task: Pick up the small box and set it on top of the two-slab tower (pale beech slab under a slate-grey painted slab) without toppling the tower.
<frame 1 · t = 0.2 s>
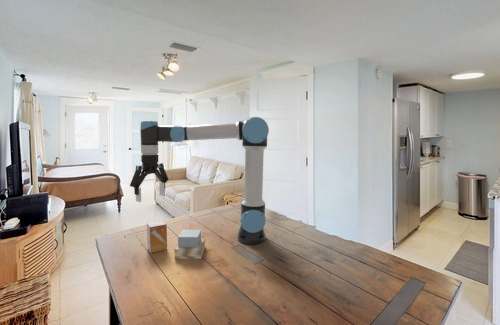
hand: (150, 198, 122), 26 cm above the table, fingers open, 13 cm apart
tower top: (190, 243, 123), point 5 cm above the table
small box: (157, 249, 126), on the table
tower base: (190, 253, 123), on the table
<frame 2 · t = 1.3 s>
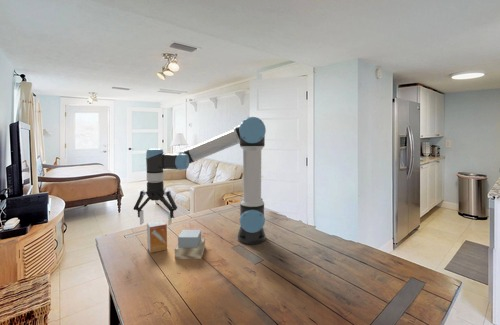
hand: (155, 223, 125), 13 cm above the table, fingers open, 13 cm apart
tower top: (190, 243, 122), point 5 cm above the table, touching tower base
tower base: (190, 253, 123), on the table, touching tower top
everything else where it was.
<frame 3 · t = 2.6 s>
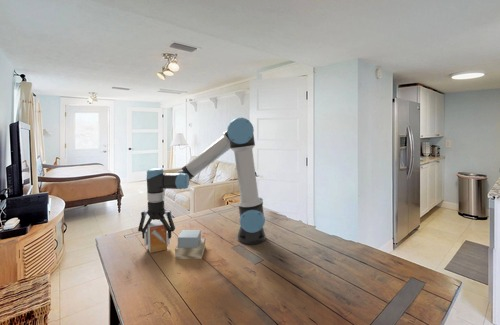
hand: (157, 244, 126), 2 cm above the table, fingers closed on small box, 10 cm apart
small box: (157, 249, 126), on the table, touching gripper
everything else where it was.
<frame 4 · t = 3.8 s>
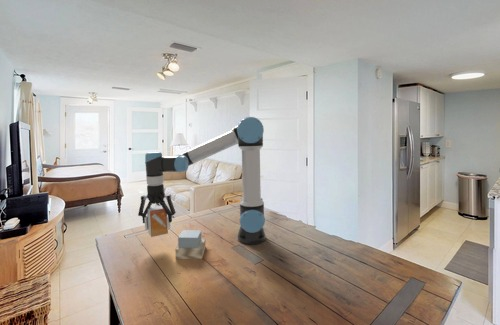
hand: (158, 229, 125), 10 cm above the table, fingers closed on small box, 10 cm apart
small box: (158, 233, 126), point 8 cm above the table, touching gripper
everything else where it was.
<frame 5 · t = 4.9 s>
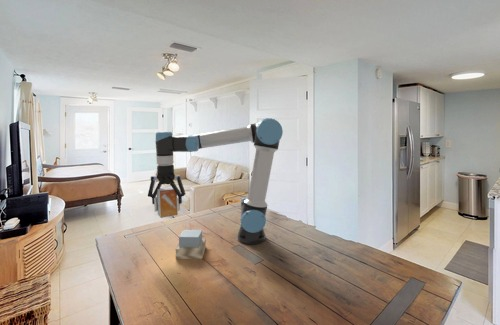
hand: (167, 210, 123), 20 cm above the table, fingers closed on small box, 10 cm apart
tower top: (191, 243, 123), point 5 cm above the table
small box: (167, 215, 123), point 18 cm above the table, touching gripper
tower base: (191, 253, 123), on the table
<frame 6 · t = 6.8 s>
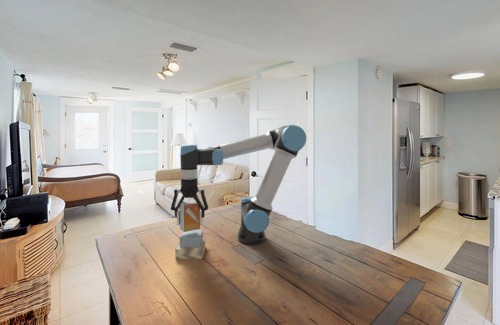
hand: (189, 224, 121), 14 cm above the table, fingers closed on small box, 10 cm apart
tower top: (191, 243, 123), point 4 cm above the table, touching tower base
small box: (190, 229, 122), point 12 cm above the table, touching gripper
tower base: (191, 253, 123), on the table, touching tower top
when the fingers open (14 cm above the table, at t = 7.4 s): small box drops 2 cm, resting on tower top.
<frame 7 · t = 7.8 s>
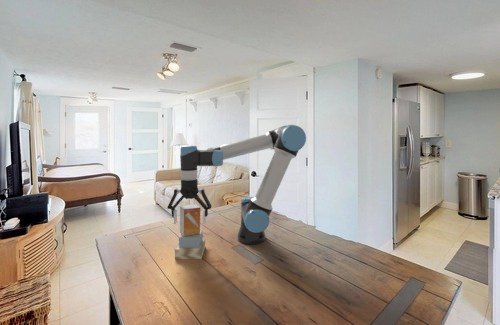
hand: (190, 223, 121), 15 cm above the table, fingers open, 13 cm apart
tower top: (191, 243, 122), point 5 cm above the table, touching small box
small box: (189, 233, 122), point 9 cm above the table, touching tower top
tower base: (190, 253, 123), on the table
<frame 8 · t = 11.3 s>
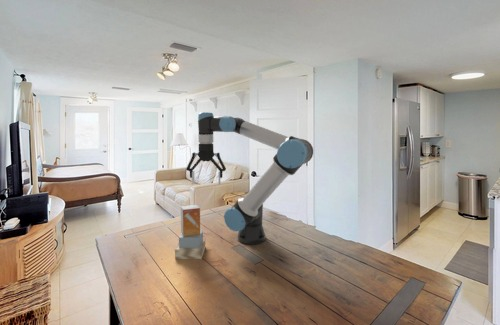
hand: (206, 184, 134), 31 cm above the table, fingers open, 13 cm apart
tower top: (191, 243, 122), point 4 cm above the table, touching small box, tower base
tower base: (191, 253, 123), on the table, touching tower top
everything else where it was.
at the end: small box inside the target area on the tower top (0.5 cm from its centre), point 4.8 cm above the tower top's base; small box tilted 1°; tower top moved 0.9 cm from its start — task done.
